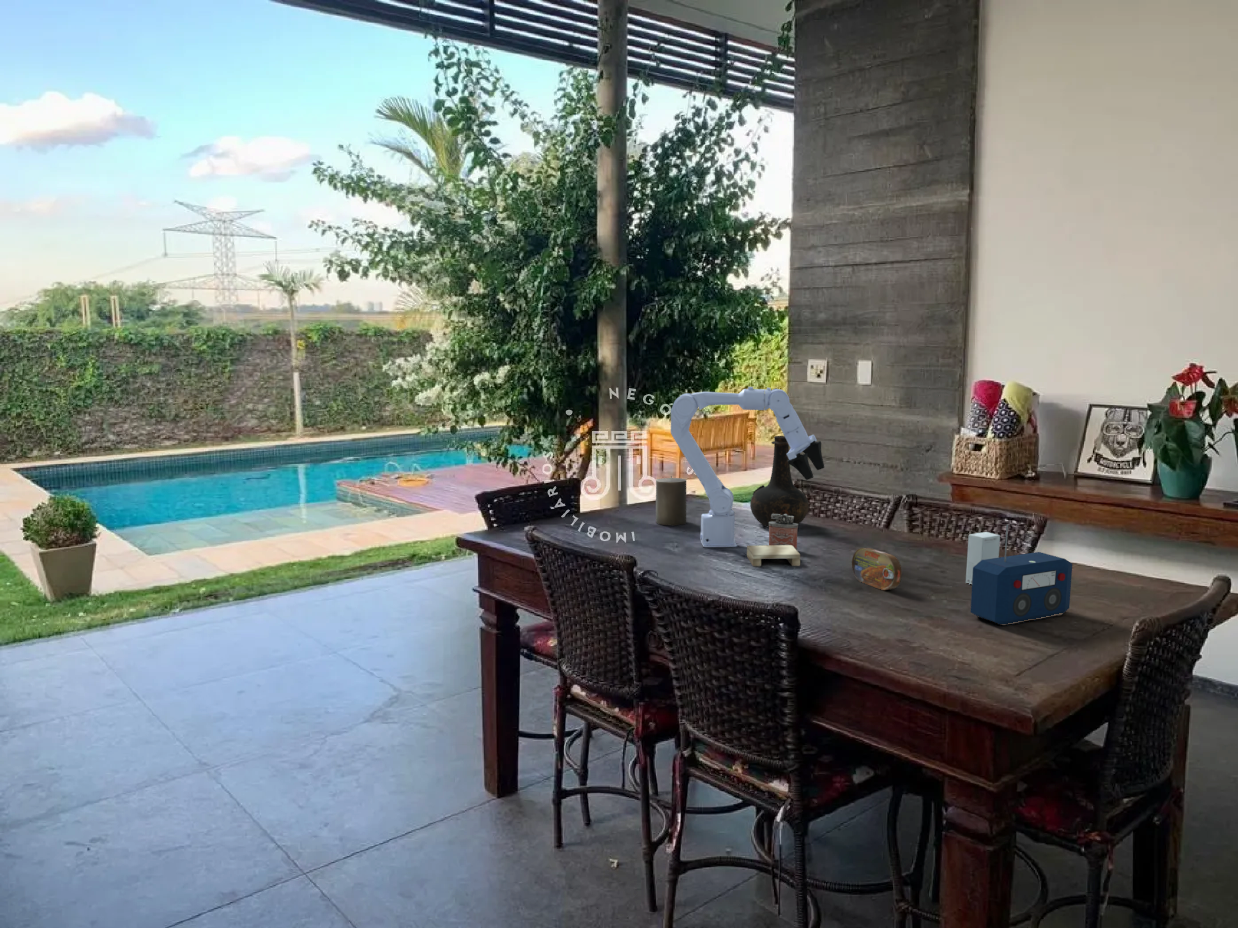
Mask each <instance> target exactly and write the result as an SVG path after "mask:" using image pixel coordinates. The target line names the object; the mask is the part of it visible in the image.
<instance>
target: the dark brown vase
mask: <svg viewBox="0 0 1238 928" xmlns="http://www.w3.org/2000/svg"><path fill="white" fill-rule="evenodd" d="M773 438H774V439H773V441H771V444H772V445H774V446H773V447H774V448H773V459H772V460H773V461H772V468H771V469H772V470H771V476H770V480H769V482H768V484H767V485H766V486H765V485H764V484H763V485H761V486H759V487H757V488H756V489H755V490H754V491H753V492H752V496H751V498H750V504H749V505H750V506H749V507H750V510H751V513H752V515H753V516H754V518H755V520H756V521H757V522H759V523H760V525H763V526H764V527H767V528H769V522H776V519H771V515H772V514H780V515H784V514H787V515H788V516H794V520H793V523H796V524H798V525H799V524H801V523H802V522H803V520H805V518H806V517H807V515H808V511H809V508H810V507H809V505H810V504H809V501H808V498H807V496H806V495H805V493H804V492H803V491H801V489H799V488H797V487H796V486H795V485H794V483H793V479H792V473H791V465H790V464H789V463H788V460H789V458H788V456H787V453H788V452H789V450H790V446H789V444H788V442H787V440H786V438H785V436H784V435H775V436H773ZM778 520H779V522H780V521H781V519H778ZM789 521H790V520H789Z"/></svg>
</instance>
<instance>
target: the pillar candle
mask: <svg viewBox="0 0 1238 928" xmlns="http://www.w3.org/2000/svg"><path fill="white" fill-rule="evenodd" d="M655 522H656V524H658V525H663V526H673V527H674V526H680V525H686V524H687V479H686V478H682V477H681V478H678V477H672V475H671V476H670V477H664V478H657V479H655Z"/></svg>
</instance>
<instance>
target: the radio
mask: <svg viewBox="0 0 1238 928" xmlns="http://www.w3.org/2000/svg"><path fill="white" fill-rule="evenodd" d="M1005 529H1006V532H1005V545H1004V547H1005V549H1004V556H1001V557H999V558H992V559H985V560H981V561H980V562H979V563H978V564H977V565H975V566H974V567H973V576H972V585H971V598H970V613H971V614H973V615H974V616H976V617H978V616H979V617H978V618H980V617H981V618H980V619H983V618H984V619H983V620H985V619H987V620H986V621H988V620H990V621H989V622H991V621H993V622H995V623H994V624H996V623H998V624H997V625H999V624H1008V623H1013V622H1018V621H1024V620H1028V619H1036V618H1041V617H1046V616H1051V615H1054V614H1059V613H1063V614H1065V612H1067V611H1068V610H1069V609H1070V606H1071V605H1070V603H1071V591H1072V590H1071V589H1072V577H1073V576H1072V575H1073V562H1071V561H1069V560H1067V559H1066V558H1063V557H1060V556H1057V555H1052V554H1048V553H1044V552H1041V551H1036V552H1030V553H1020V554H1014V555H1009V556H1008V555H1007V549H1008V548H1007V547H1008V535H1009V534H1008V532H1009V524H1006V528H1005ZM993 622H992V623H993Z"/></svg>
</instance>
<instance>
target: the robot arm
mask: <svg viewBox="0 0 1238 928" xmlns="http://www.w3.org/2000/svg"><path fill="white" fill-rule="evenodd" d="M724 405H725V406H729V405H730V406H731V405H732V406H733V405H734V406H739V407H740V408H741V409H742V410H745V411H747V410H748V411H767V410H769V409H770V410H771V411H773V414H774V417H775V418H776V419H775V420H776V422H777V424H778V426H779V429H780V431H781V432H782V433H783V436H785V438H786V440H787V442H788V444H789V452H788V453H787V456H788V458H789V460H788V463H789V464H790V466H792V467H794V469H796V470H797V471H798V473H800V474H801V476H802V477H803V478H804V479H805V480H806V481H808V480H812V479H813V478H814V473H813V470H812V468H811V465H810V462H809V460H810V461H811V463H812V464H813V466H814V468H815V469H816V471H819V470H820V471H821V470H822V469H824V468H825V463H824V460H823V458H824V457H823V454H822V442H821V440H817V438H816V436H815V434H811V435H808V432H807V431H806V428H805V427H804V425H803V423H802V421H801V419H800V417H799V415H798V413H797V411H796V410H795V409H794V406H793V404H792V403H791V401H790V397H789V395H788V393H787V392H786V391H784V390H783V389H779V388H773V389H771V387H766V389H763V388H762V389H761V388H757V389H756V388H754V386H747V388H744V389H742V390H741V391H740V392H739V393H737V392H736V393H735V392H734V393H733V392H719V391H717V392H716V391H700V392H699V391H698V392H692V393H689V392H688V393H687V392H686V393H683V394H681V395H680V396H678V397H677V398H676V399H675V400H674V402H673V405H672V407H671V410H670V434H671V436H672V437H673V440H674V441H675V443H676V444H677V446H678V448H679V450H680V452H682V454H683V456H684V458H685V459H686V461H687V462H688V464H689V465H690V467H691V470H692V471H693V472H694V473H695V475H696V477H697V479H698V481H699V482H700V484H701V485H702V487H703V490H704V492H705V494H706V496H707V498H708V499H709V501H708V502H709V508H710V509H709V511H708V512H707V513H702V514H701V516H700V534H699V538H700V539H699V540H700V543H701V545H702V547H703V548H737V547H738V544H737V543H736V541H735V510H734V509H732V508H733V505H734V504H733V503H734V498H735V497H734V494H733V492H732V491H731V490H730V489H729V488H727V486H725V485H724V483H723V482H722V481H721V479H719V477H718V476H717V474H716V472H715V471H714V469H713V468H712V466H711V465H710V462H709V461H708V459H707V458H706V456H705V455H704V453H703V451H702V449H701V447H700V446H699V445H698V443H697V441H696V440H695V438H694V436H693V435H692V433H691V432H690V427H691V423H692V419H693V417H694V416H695V414H696V413H697V411H698V410H699V411H700V410H702V409H704V408H707V407H708V406H724ZM802 453H803V454H802Z"/></svg>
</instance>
